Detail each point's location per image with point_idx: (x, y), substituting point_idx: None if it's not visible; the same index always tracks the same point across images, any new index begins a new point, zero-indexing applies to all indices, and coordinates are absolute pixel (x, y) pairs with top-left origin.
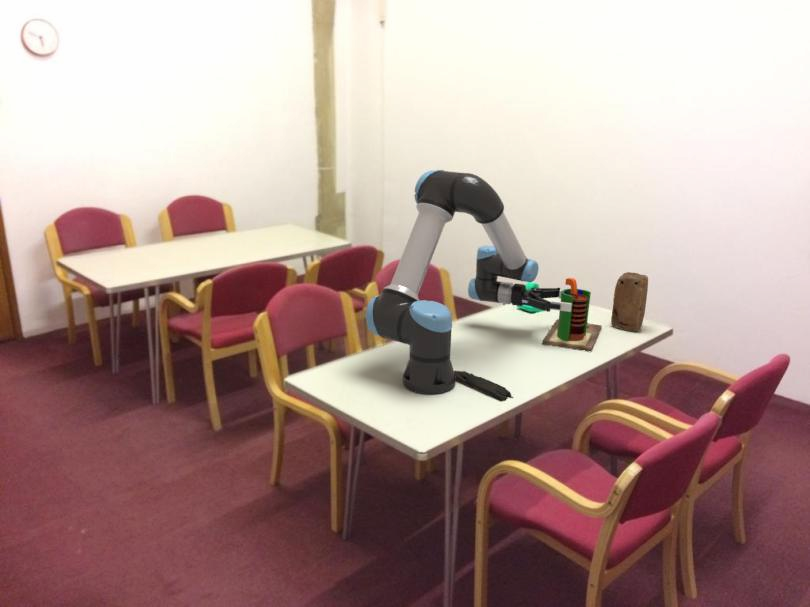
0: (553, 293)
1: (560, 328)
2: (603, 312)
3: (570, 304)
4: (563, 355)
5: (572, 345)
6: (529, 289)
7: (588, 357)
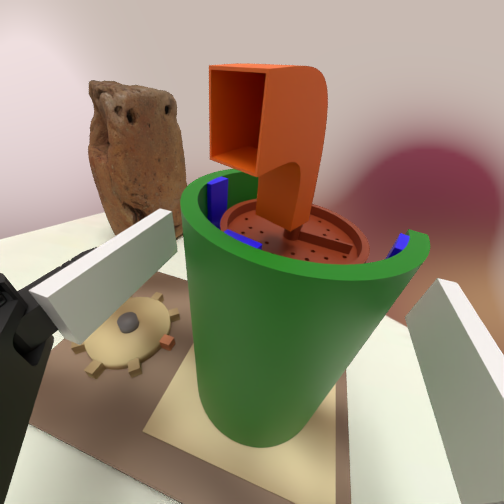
0: (6, 381)
1: (303, 421)
2: (18, 245)
3: (458, 290)
4: (434, 448)
5: (346, 387)
6: None
7: (391, 351)
